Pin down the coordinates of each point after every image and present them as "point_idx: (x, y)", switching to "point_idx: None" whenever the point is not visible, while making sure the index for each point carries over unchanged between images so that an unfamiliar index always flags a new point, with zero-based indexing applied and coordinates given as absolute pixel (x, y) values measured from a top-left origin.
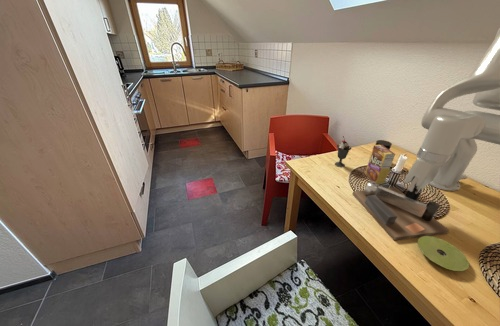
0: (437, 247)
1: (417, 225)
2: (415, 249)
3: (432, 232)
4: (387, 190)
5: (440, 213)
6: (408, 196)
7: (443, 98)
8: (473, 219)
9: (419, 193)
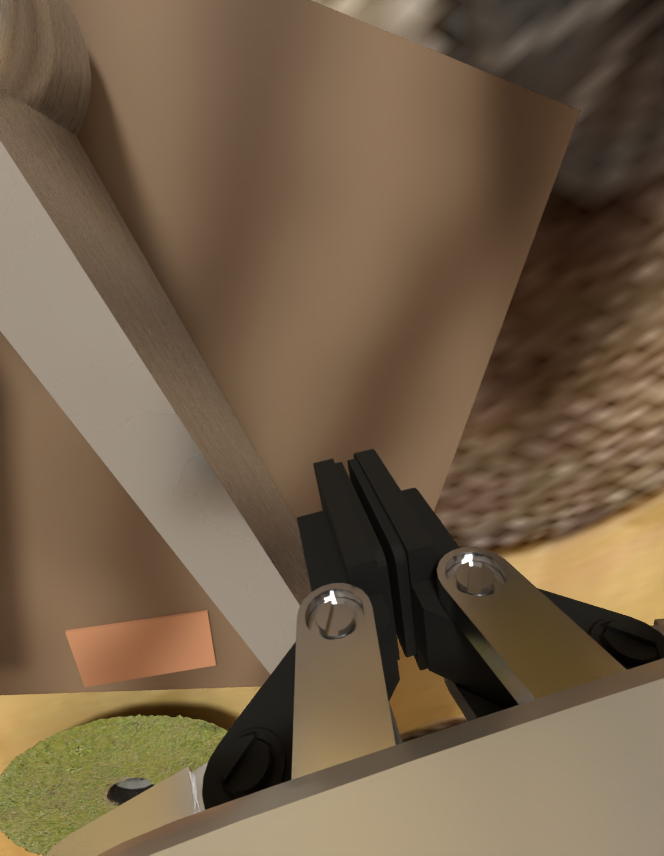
0: (139, 774)
1: (191, 635)
2: (29, 717)
3: (240, 686)
4: (45, 323)
5: (531, 527)
6: (304, 547)
7: None
8: (629, 597)
9: (417, 660)
